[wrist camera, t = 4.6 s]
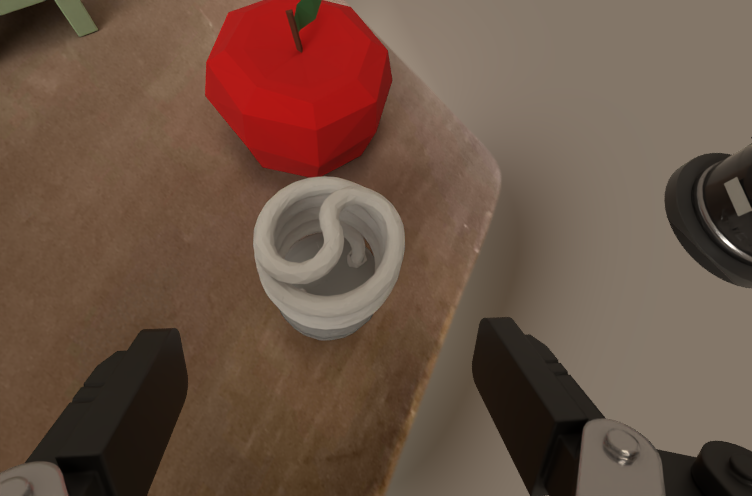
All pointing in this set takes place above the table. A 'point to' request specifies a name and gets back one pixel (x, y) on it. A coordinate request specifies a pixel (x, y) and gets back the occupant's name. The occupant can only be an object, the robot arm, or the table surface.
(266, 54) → the apple
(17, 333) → the table surface
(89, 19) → the green side table
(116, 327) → the table surface
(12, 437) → the table surface
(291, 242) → the light bulb
